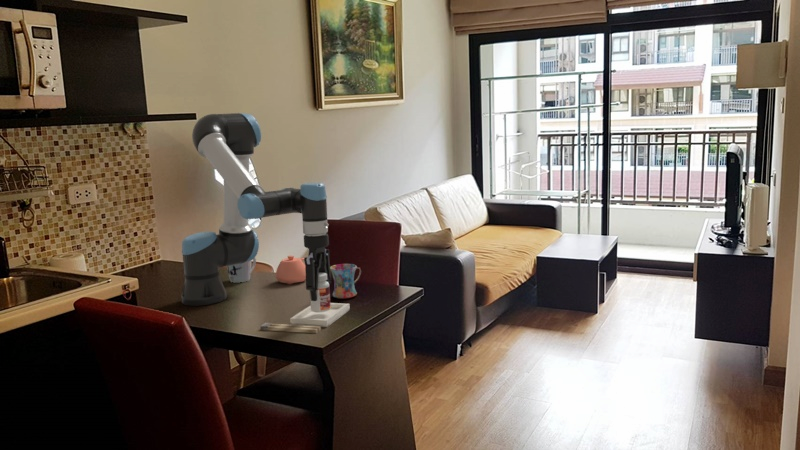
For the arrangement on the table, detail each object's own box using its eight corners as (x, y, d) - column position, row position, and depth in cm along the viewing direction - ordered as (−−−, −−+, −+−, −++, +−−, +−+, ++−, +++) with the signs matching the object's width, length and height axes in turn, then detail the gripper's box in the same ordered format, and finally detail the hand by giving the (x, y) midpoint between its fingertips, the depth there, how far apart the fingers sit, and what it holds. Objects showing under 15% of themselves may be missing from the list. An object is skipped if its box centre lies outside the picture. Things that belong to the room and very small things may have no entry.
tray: (290, 325, 194) (290, 318, 194) (315, 308, 211) (315, 302, 211) (327, 327, 191) (327, 320, 191) (349, 309, 208) (349, 303, 208)
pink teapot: (270, 282, 250) (268, 256, 248) (301, 275, 259) (299, 250, 257) (286, 287, 241) (284, 260, 239) (318, 280, 249) (316, 254, 248)
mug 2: (341, 301, 218) (339, 271, 216) (326, 296, 225) (324, 267, 223) (369, 294, 225) (368, 264, 224) (354, 290, 232) (352, 261, 231)
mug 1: (220, 282, 252) (218, 257, 251) (247, 274, 265) (245, 250, 264) (241, 285, 247) (238, 259, 246) (266, 276, 260) (264, 251, 259)
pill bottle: (320, 314, 197) (318, 277, 195) (306, 310, 200) (304, 275, 199) (335, 309, 201) (332, 273, 199) (321, 306, 205) (319, 271, 203)
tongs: (260, 329, 191) (260, 325, 191) (265, 326, 194) (265, 322, 194) (316, 333, 186) (316, 329, 186) (321, 329, 189) (320, 325, 189)
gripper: (314, 239, 187) (318, 317, 191) (339, 228, 205) (343, 299, 209) (290, 239, 189) (295, 315, 193) (317, 228, 207) (322, 298, 211)
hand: (320, 307), depth 201 cm, fingers closed on pill bottle, 6 cm apart
